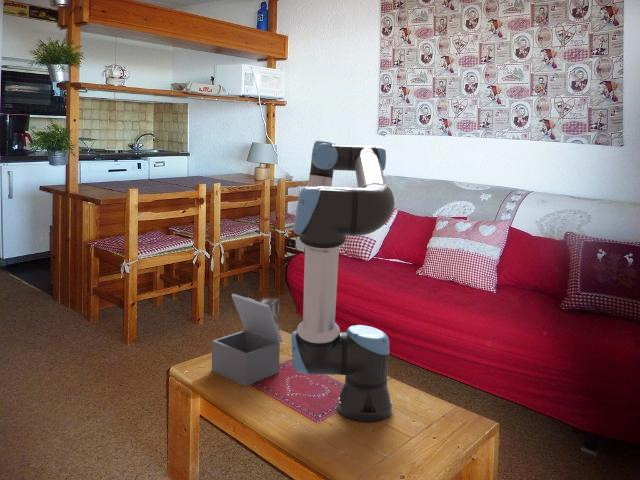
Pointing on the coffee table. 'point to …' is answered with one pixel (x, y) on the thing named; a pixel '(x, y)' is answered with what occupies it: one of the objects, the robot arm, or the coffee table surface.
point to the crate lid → (257, 317)
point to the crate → (245, 357)
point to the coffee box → (273, 308)
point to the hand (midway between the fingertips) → (308, 263)
